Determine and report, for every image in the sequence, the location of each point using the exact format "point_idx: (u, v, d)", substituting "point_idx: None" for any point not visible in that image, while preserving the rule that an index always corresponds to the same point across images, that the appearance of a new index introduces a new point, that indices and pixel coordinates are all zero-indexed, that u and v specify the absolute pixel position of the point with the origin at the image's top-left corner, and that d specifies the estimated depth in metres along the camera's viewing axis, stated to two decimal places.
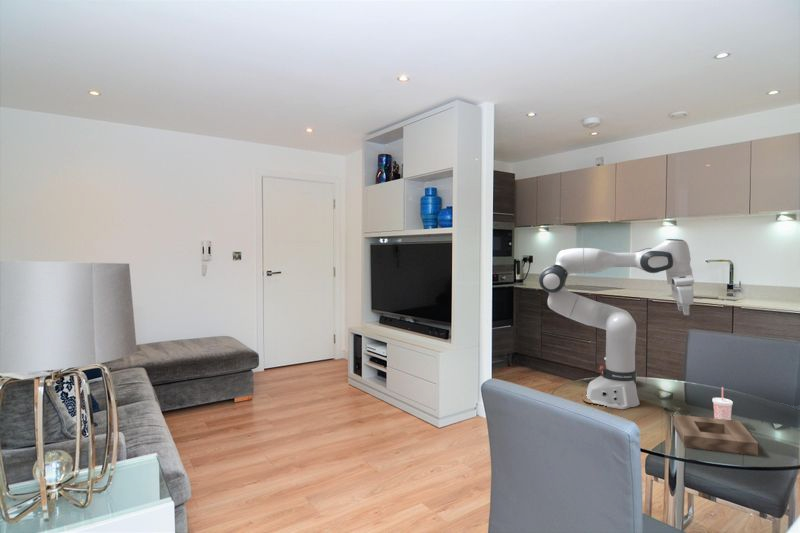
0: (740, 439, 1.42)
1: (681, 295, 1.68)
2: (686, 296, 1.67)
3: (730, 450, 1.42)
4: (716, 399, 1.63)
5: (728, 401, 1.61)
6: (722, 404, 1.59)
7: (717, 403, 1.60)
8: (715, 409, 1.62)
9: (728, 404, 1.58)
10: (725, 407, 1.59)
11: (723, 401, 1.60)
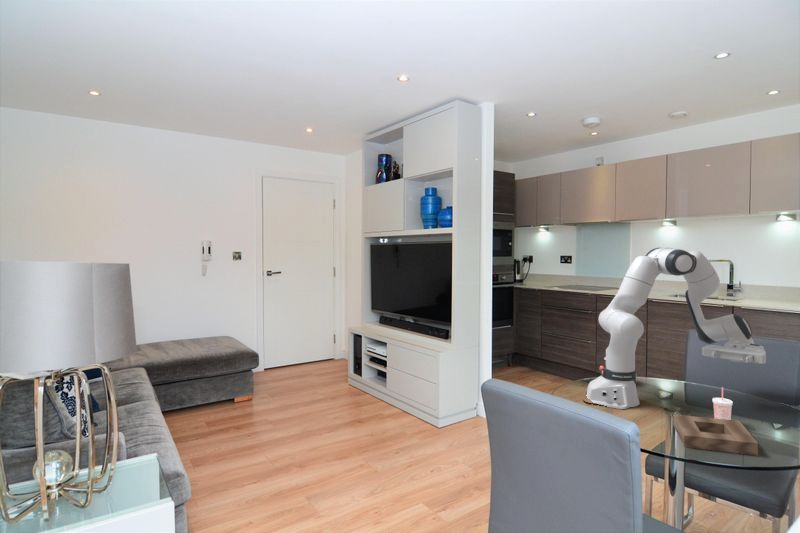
0: (740, 439, 1.42)
1: (765, 353, 1.68)
2: None
3: (730, 450, 1.42)
4: (716, 399, 1.63)
5: (728, 401, 1.61)
6: (722, 404, 1.59)
7: (717, 403, 1.60)
8: (715, 409, 1.62)
9: (728, 404, 1.58)
10: (725, 407, 1.59)
11: (723, 401, 1.60)
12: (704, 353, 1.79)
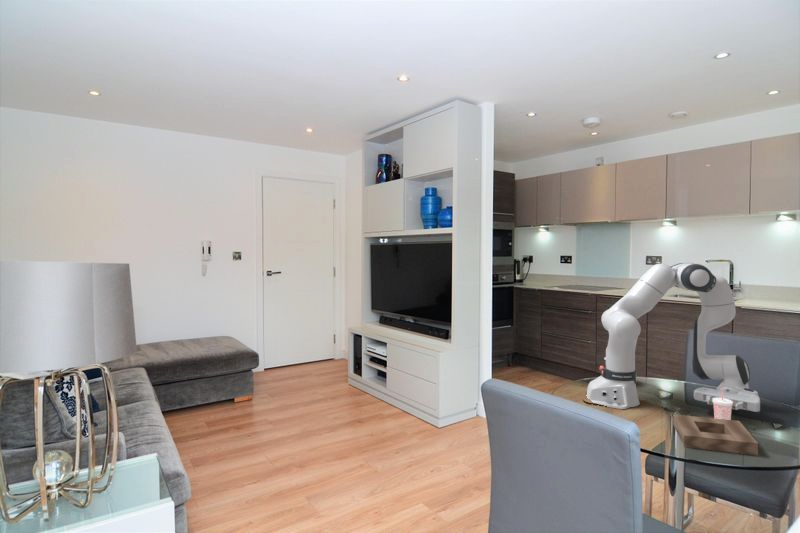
0: (740, 439, 1.42)
1: (759, 400, 1.60)
2: None
3: (730, 450, 1.42)
4: (716, 399, 1.63)
5: (728, 401, 1.61)
6: (722, 404, 1.59)
7: (717, 403, 1.60)
8: (715, 409, 1.62)
9: (728, 404, 1.58)
10: (725, 407, 1.59)
11: (723, 401, 1.60)
12: (696, 397, 1.71)
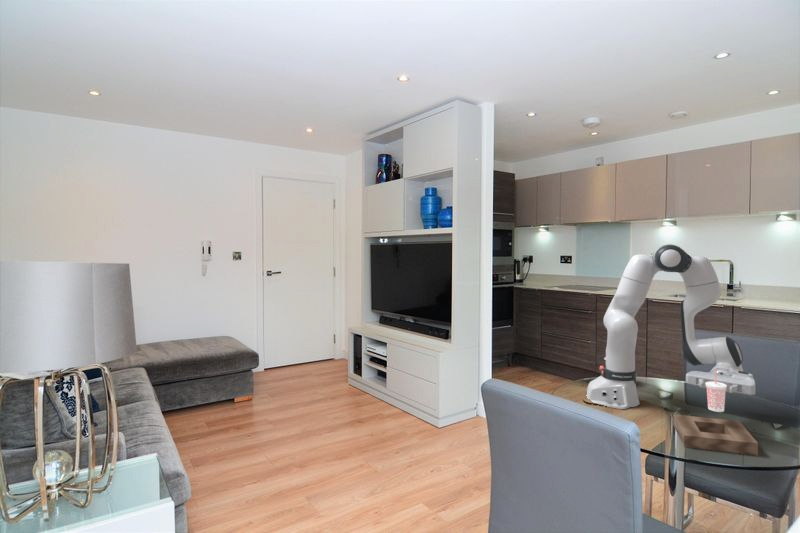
0: (740, 439, 1.42)
1: None
2: None
3: (730, 450, 1.42)
4: (709, 383, 1.55)
5: (722, 385, 1.52)
6: (716, 388, 1.51)
7: (710, 387, 1.52)
8: (708, 393, 1.53)
9: (722, 388, 1.50)
10: (719, 391, 1.51)
11: (717, 385, 1.52)
12: (688, 380, 1.62)
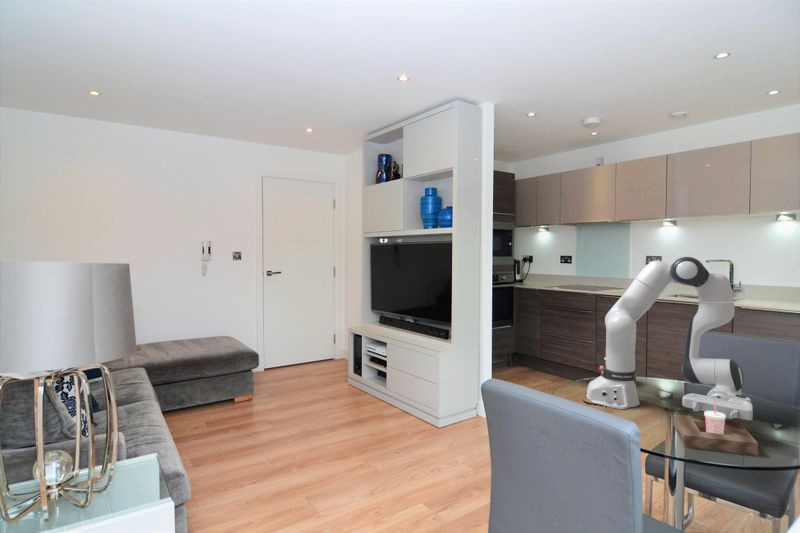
0: (740, 439, 1.42)
1: (752, 407, 1.48)
2: (752, 412, 1.48)
3: (730, 450, 1.42)
4: (708, 412, 1.51)
5: (721, 415, 1.49)
6: (714, 418, 1.48)
7: (709, 417, 1.49)
8: (707, 423, 1.50)
9: (721, 418, 1.47)
10: (718, 421, 1.47)
11: (715, 415, 1.49)
12: (684, 404, 1.59)
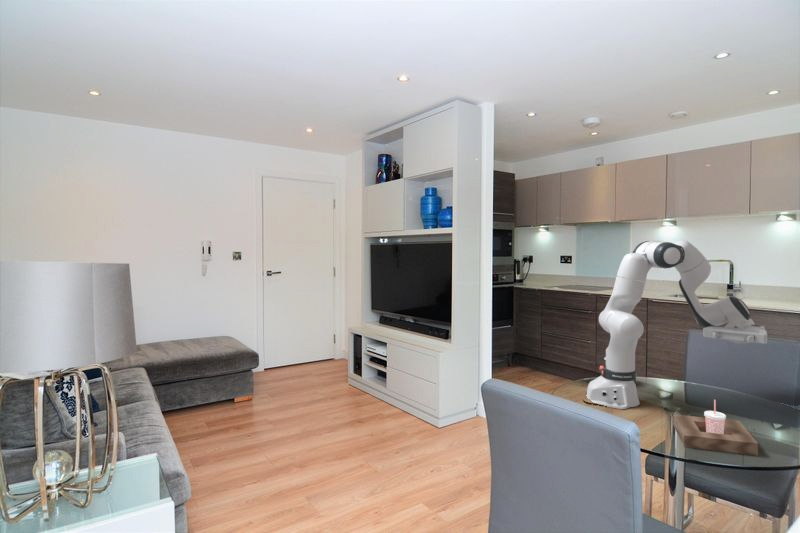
0: (740, 439, 1.42)
1: (766, 332, 1.67)
2: None
3: (730, 450, 1.42)
4: (708, 412, 1.51)
5: (721, 415, 1.49)
6: (714, 418, 1.48)
7: (709, 417, 1.49)
8: (707, 423, 1.50)
9: (721, 418, 1.47)
10: (718, 421, 1.47)
11: (715, 415, 1.49)
12: (705, 334, 1.78)
